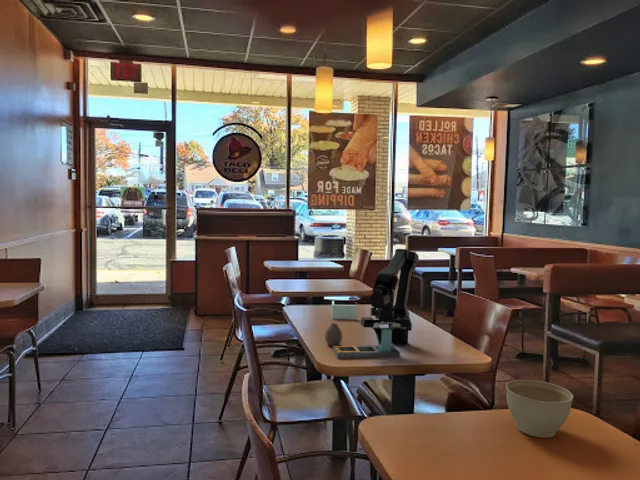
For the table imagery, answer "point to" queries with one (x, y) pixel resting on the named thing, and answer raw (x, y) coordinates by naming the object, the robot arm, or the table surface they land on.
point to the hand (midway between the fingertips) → (384, 343)
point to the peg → (385, 340)
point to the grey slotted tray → (364, 352)
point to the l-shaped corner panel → (343, 311)
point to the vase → (333, 335)
